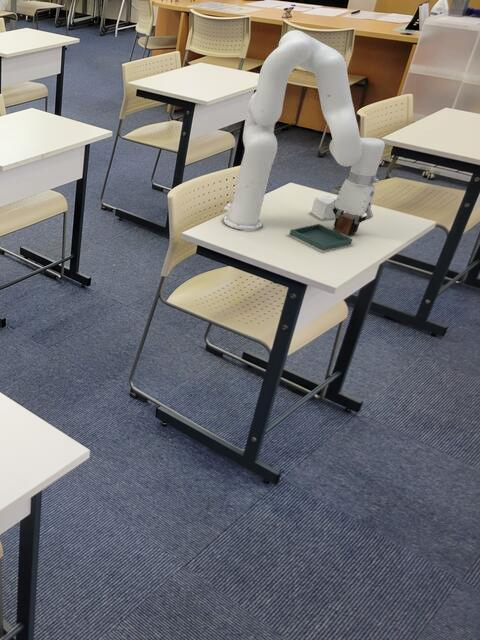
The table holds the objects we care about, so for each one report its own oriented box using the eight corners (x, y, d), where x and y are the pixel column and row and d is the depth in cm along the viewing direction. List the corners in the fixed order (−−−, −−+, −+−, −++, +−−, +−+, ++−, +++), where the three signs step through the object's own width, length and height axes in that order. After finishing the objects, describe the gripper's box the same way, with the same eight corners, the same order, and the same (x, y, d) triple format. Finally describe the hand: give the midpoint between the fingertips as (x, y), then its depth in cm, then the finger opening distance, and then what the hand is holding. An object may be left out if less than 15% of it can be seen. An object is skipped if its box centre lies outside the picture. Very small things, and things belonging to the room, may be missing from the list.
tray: (288, 235, 231) (290, 229, 229) (316, 229, 235) (318, 223, 234) (321, 252, 220) (323, 245, 219) (350, 245, 225) (352, 239, 224)
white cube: (310, 213, 248) (314, 197, 244) (324, 212, 249) (328, 196, 246) (321, 220, 243) (326, 203, 240) (335, 218, 245) (340, 202, 241)
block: (333, 233, 234) (339, 215, 230) (340, 229, 236) (345, 212, 233) (346, 237, 231) (352, 219, 227) (353, 234, 233) (359, 216, 230)
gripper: (392, 182, 220) (374, 236, 230) (341, 169, 230) (325, 221, 240) (382, 187, 216) (363, 242, 226) (330, 173, 226) (314, 226, 236)
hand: (344, 230), depth 233 cm, fingers closed on block, 4 cm apart
